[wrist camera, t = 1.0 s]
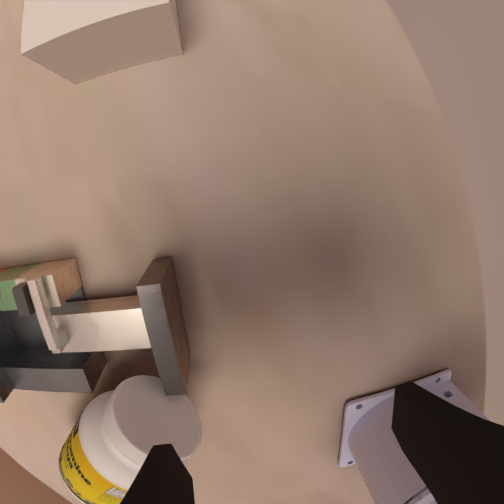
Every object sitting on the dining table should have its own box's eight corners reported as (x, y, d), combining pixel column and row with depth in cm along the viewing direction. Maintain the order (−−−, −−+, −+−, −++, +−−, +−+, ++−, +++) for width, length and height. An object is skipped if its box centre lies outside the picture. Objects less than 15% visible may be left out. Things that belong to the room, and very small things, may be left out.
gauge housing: (75, 257, 16) (37, 285, 11) (106, 363, 18) (84, 409, 13) (-13, 271, 15) (-54, 295, 11) (20, 363, 17) (-10, 400, 13)
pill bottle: (56, 428, 17) (95, 346, 14) (132, 443, 21) (202, 373, 17) (59, 506, 12) (99, 469, 9) (144, 515, 16) (230, 475, 12)
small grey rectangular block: (30, 281, 13) (21, 287, 12) (38, 308, 13) (30, 316, 12) (20, 282, 12) (11, 289, 12) (28, 309, 13) (20, 316, 12)
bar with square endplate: (169, 243, 16) (156, 266, 12) (190, 350, 18) (186, 394, 14) (49, 260, 15) (13, 284, 12) (79, 357, 17) (56, 396, 13)
